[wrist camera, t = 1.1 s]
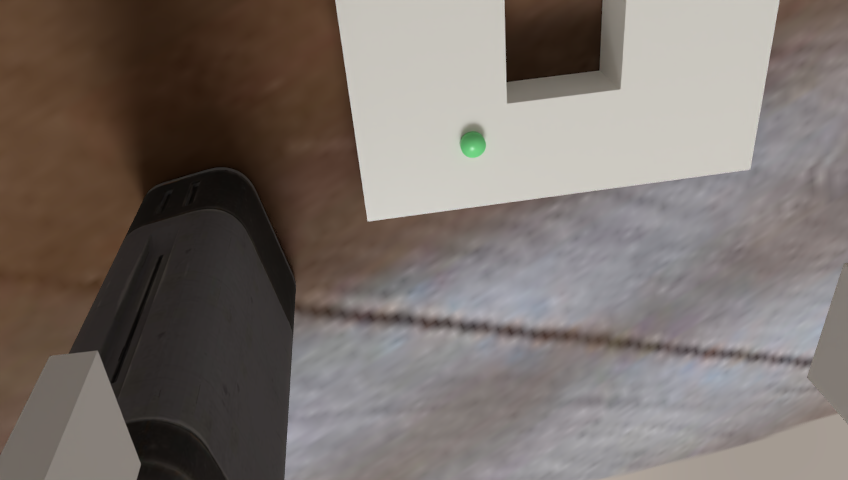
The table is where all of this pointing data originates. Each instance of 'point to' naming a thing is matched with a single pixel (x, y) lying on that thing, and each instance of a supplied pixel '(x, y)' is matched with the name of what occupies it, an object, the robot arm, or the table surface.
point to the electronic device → (199, 332)
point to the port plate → (547, 101)
